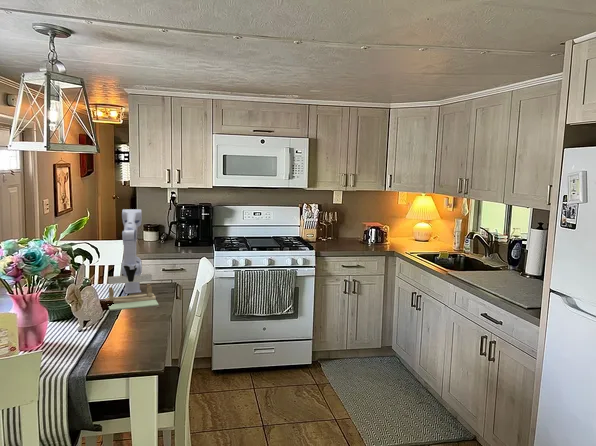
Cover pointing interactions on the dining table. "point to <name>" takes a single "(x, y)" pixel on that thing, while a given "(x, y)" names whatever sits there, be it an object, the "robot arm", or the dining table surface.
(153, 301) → the mat
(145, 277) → the rail
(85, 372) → the dining table surface
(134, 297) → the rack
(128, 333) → the dining table surface
